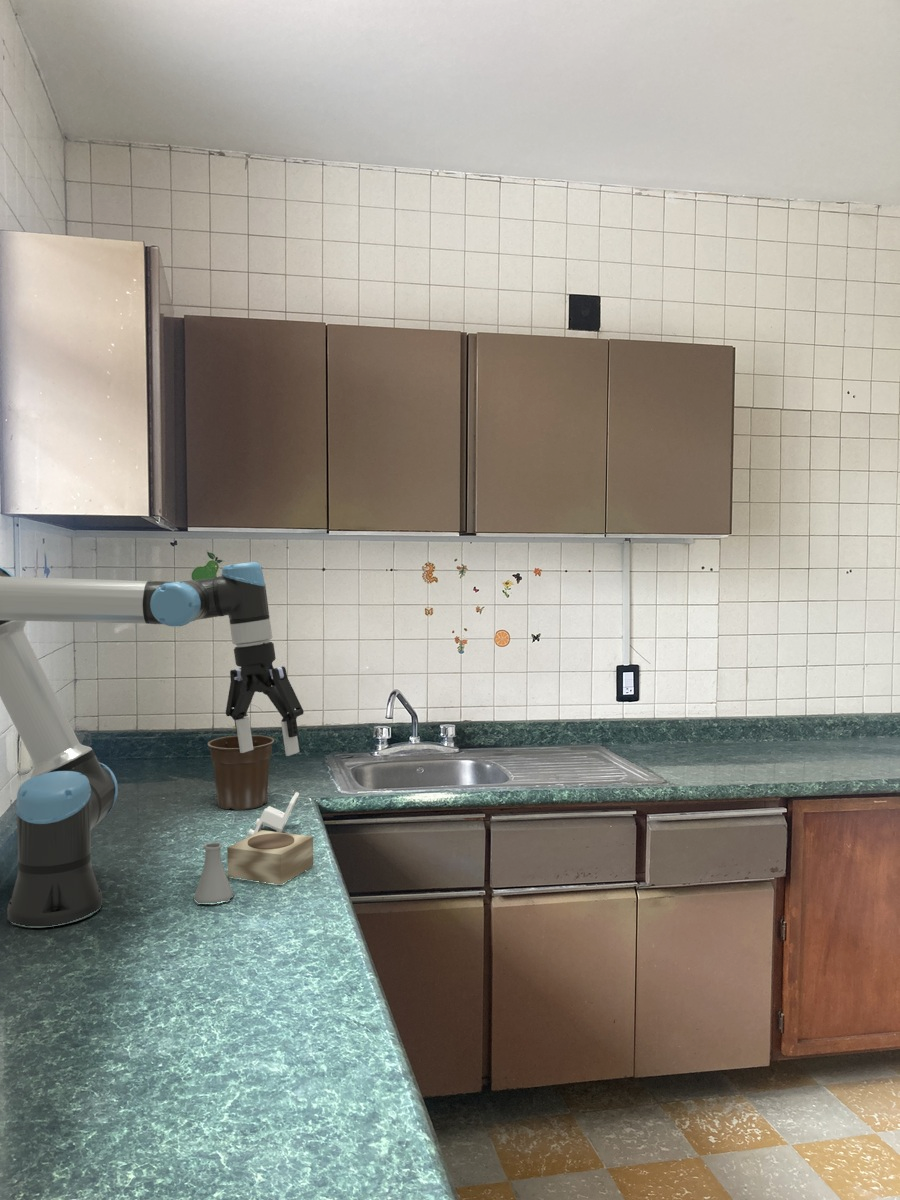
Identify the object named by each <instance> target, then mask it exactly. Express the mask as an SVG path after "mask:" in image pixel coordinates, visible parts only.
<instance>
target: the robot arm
mask: <svg viewBox="0 0 900 1200" xmlns="http://www.w3.org/2000/svg"><path fill="white" fill-rule="evenodd" d="M221 571H222V573H221V575H220V576H217V577H215V576H214V577H211V578H201V579H193V580H191V579H190V580H184V581H162V580H161V581H157V580H155V581H153V580H129V579H127V580H124V579H122V580H120V579H98V578H97V579H94V578H93V579H90V578H67V577H65V578H63V577H58V578H57V577H35V576H34V577H29V576H27V577H25V576H24V577H23V576H15V575H14V574H12V573H11V572H10V570H8V569H6V568H4V567H2V566H0V700H1V701H2V704H3V706H4V707H5V710H6V711H7V713H8V715H9V717H10V719H11V721H12V723H13V725H14V727H15V729H16V731H17V733H18V735H19V737H20V739H21V741H22V743H23V745H24V747H25V749H26V751H27V753H28V755H29V756H30V758H31V762H32V763H33V766H34V768H33V769H32V772H31V775H30V778H29V779H27V780H25V781H24V782H23V783H22V784H21V785H20V786H19V787H18V789H17V793H16V802H15V812H16V837H17V838H16V839H17V840H16V841H17V870H18V871H17V875H16V879H15V882H14V886H13V888H12V889H13V890H12V893H11V897H10V899H9V901H8V903H7V920H8V919H9V920H10V921H11V922H13V923H16V924H20V925H25V926H52V925H58V924H62V923H67V922H70V921H73V920H76V919H79V918H82V917H84V916H86V915H88V914H90V913H92V912H94V911H96V910H97V909H99V908H100V907H101V905H102V906H103V892H102V889H101V887H99V884H98V880H97V877H96V873H95V871H94V868H93V866H92V850H91V849H92V846H91V843H92V841H91V839H92V838H91V834H92V833H91V831H92V830H93V829H94V828H95V827H96V826H97V825H98V824H100V823H101V822H102V821H104V819H105V818H107V816H109V814H110V812H111V811H112V809H113V808H114V805H115V804H116V802H117V799H118V798H117V797H118V794H119V793H118V791H119V786H118V781H117V778H116V776H115V773H114V772H113V771H112V770H111V768H110V767H108V765H106V764H104V763H102V762H100V761H99V760H98V757H97V756H96V754H95V752H94V749H93V748H92V747H90V746H88V745H85V744H82V743H81V742H80V741H79V739H78V737H77V735H76V733H75V731H74V729H73V726H72V725H71V723H70V722H69V719H68V717H67V715H66V713H65V711H64V709H63V707H62V705H61V703H60V701H59V699H58V697H57V695H56V693H55V690H54V689H53V687H52V685H51V683H50V681H49V679H48V677H47V675H46V673H45V671H44V669H43V667H42V665H41V663H40V661H39V659H38V657H37V655H36V653H35V651H34V649H33V647H32V645H31V643H30V641H29V639H28V637H27V636H26V635H27V634H26V633H25V630H24V629H25V626H26V624H27V622H54V623H55V622H58V623H61V622H62V623H64V622H65V623H98V624H99V623H102V624H104V623H105V624H106V623H108V624H110V623H111V624H141V625H142V624H145V625H146V624H147V625H148V624H149V625H164V626H168V627H182V626H185V625H187V624H190V623H192V622H194V621H198V620H204V619H205V620H206V619H211V618H217V617H218V618H219V617H220V618H221V617H225V616H228V620H229V627H230V635H231V642H232V644H233V645H235V647H234V649H233V654H234V660H235V665H236V666H237V667H239V668H234V669H231V670H230V671H229V674H230V675H229V676H230V683H229V689H228V695H227V701H226V702H227V703H226V707H225V715H226V717H231V718H232V720H234V727H235V734H236V736H237V735H238V741H239V748H240V753H244V752H248V751H251V750H254V749H253V742H252V735H253V734H252V729H251V723H250V716H249V714H248V710H249V708H250V705H251V702H252V700H253V697H254V695H255V693H256V692H257V693H262V694H263V695H266V696H267V697H268V699H269V700H270V702H271V703H272V704H273V706H274V708H275V709H276V710H277V712H278V713H279V714H280V716H281V717H282V719H281V721H280V724H281V730H282V738H283V744H284V751H285V752H284V753H285V757H290V756H293V755H295V754H297V753H300V747H299V745H300V744H299V739H298V736H299V730H298V729H299V728H298V722H297V718H298V717H299V716H302V715H304V713H305V712H304V709H303V707H302V705H301V702H300V701H299V699H298V696H297V694H296V692H295V691H294V688H293V686H292V684H291V681H290V680H289V678H288V673H287V670H286V666H279V667H274V666H273V663H274V661H275V660H276V650H275V646H274V642H273V641H270V640H272V638H273V633H272V626H271V620H270V610H269V602H268V596H267V586H266V584H267V583H265V578H264V577H265V576H264V574H263V573H264V571H263V568H262V566H261V564H260V563H259V562H258V561H257V562H256V561H249V562H243V563H235V564H228V565H224V566H222V568H221Z"/></svg>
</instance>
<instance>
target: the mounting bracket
mask: <svg viewBox="0 0 900 1200" xmlns="http://www.w3.org/2000/svg"><path fill="white" fill-rule="evenodd" d="M299 795H300V793H299V792H298V791H296V792H295V793H294V794H293V796H292V798H291V799H290V801H289V804H287V808H286V810H285V811H284V812H283V811H282V810H280V809H277V808H275V807H273V806H270V805H268V806H267V807H266V808H264V809H263V811H262V813H261V816H260V818H256V821H255V823H254V826H255V829H252V828H249V830H248V833H247V834H246V836H247V837H249V836H251V835H253V834H255V833H257V832H259V831H261V830H262V829H263V827H264V826H266V827H268V828H271V829H272V830H275V831H276V832H281V833H283V830H284V828H285V827H286V824H287V823H288V820H289V818H290V816H291V813H292V811H293V809H294V806H295V805H296V802H297V800H298V797H299Z"/></svg>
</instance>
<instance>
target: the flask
mask: <svg viewBox="0 0 900 1200" xmlns="http://www.w3.org/2000/svg"><path fill="white" fill-rule="evenodd" d="M222 847H223V844H222V843H221V842H216V841H215V842H208V843H205V844H204V845H203V849H204V850H205V855H204V856H205V858H204V864H203V868H202V871H201V875H200V879H199V880H198V884H197V886H196V890H195V893H194V896H193V898H194V899H195V900H196V901H197V902H198V903H217V902H221V901H228V900H230V898H231V897H232V896H233V895H234V896H235V894H234V892H233V889H232V887H231V884H230V882H229V880H228V879H229V878H228V875H227V873H226V871H225V868H224V865H223V861H222V856H221V849H222ZM230 901H231V900H230Z"/></svg>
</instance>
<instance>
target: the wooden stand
mask: <svg viewBox="0 0 900 1200" xmlns="http://www.w3.org/2000/svg"><path fill="white" fill-rule="evenodd" d="M226 849H227V850H226V851H227V853H226V854H227V862H226V864H227V878H228V877H233V878H241V879H247V880H253V881H259V882H266V883H274V884H283V883H285V882H286V881H288V880H290V879H292V878H294V877H295V876H297V875H298V876H300V875H301V874H300V873H302V872H303V873H305V872H306V871H308V870H309V869H311V868H313V867H314V836H310V835H302V834H295V833H288V832H277V831H271V830H262V829H261V830H260V831H259V832H257V833H255V834H253V835H251V836H249V837H248V836H247V837H245V838H243V839H242V840H241V839H240V840H239V841H238V842H235V843H234V844H231V845H229V846H228V847H227V848H226ZM312 866H313V867H312ZM307 869H308V870H307ZM305 870H306V871H305ZM304 871H305V872H304ZM303 873H302V874H303ZM299 874H300V875H299ZM298 876H297V877H298ZM295 878H296V877H295ZM295 878H294V879H295ZM292 880H293V879H292ZM290 881H291V880H290Z"/></svg>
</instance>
